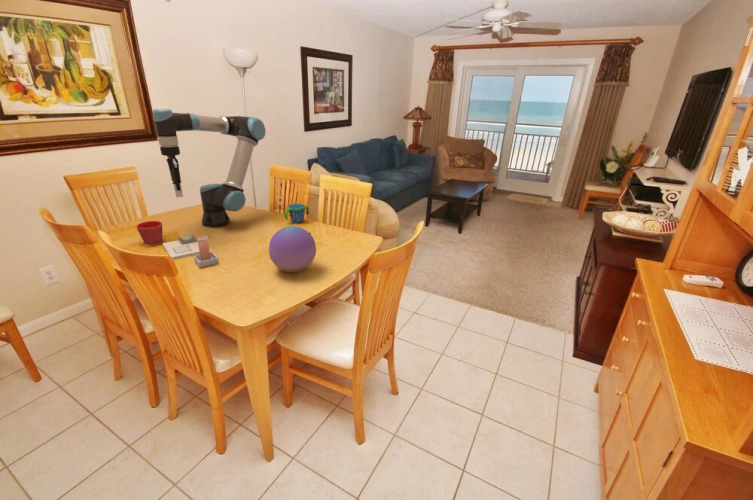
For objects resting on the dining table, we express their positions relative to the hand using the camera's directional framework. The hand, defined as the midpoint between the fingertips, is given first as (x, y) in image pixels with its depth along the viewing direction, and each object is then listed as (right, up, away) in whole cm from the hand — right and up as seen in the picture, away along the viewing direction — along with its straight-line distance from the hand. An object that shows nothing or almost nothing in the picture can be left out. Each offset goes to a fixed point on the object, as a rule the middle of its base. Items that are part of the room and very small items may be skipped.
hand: (179, 196), depth 164 cm
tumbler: (+18, -31, -10) cm, 37 cm away
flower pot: (-18, -22, +9) cm, 30 cm away
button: (-1, -21, +9) cm, 23 cm away
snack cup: (+46, -9, +46) cm, 66 cm away
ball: (+58, -35, -12) cm, 69 cm away
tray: (+18, -32, -10) cm, 38 cm away
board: (0, -25, +3) cm, 25 cm away
